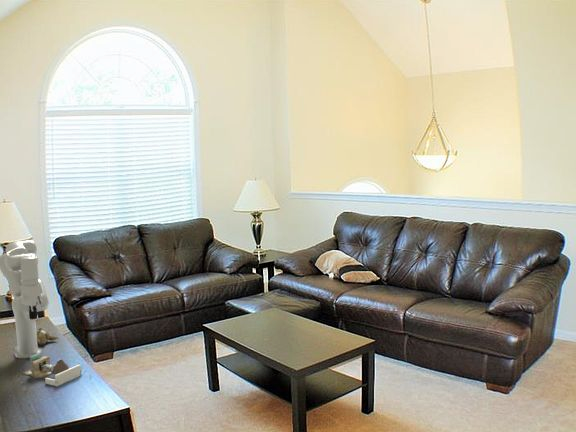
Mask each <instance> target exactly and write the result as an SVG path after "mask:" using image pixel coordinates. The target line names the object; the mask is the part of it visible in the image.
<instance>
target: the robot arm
mask: <svg viewBox="0 0 576 432" xmlns="http://www.w3.org/2000/svg"><path fill="white" fill-rule="evenodd" d="M5 250H6V251H5V252H6V253H3V254H1V255H0V271H1V273H2V275H3V277H4V278H5V279H6V280H7V283H8V287H9V290H10V293H11V295H12V297H13V299H12V301H11V309H12V312H13V315H14V323H15V332H16V342H17V345H16V346H15V347H14V350H16V351H17V352H16V353H14V356H15V358H17V359H30V356H33V355H36V354H38V353H40V354H42V349H40V348H39V346H38V345H39V343H38V342H37V333H36V330H37V324H36V322H37V321H36V319H37V318H38V312H43V311H45V310H47V309H48V308H49V304H50V302H49V298H48V294H47V291H46V289H45V285H44V283H43V282H42V280H41V279H40V278H39V267H38V265H39V258H38V256H37V245H36V243H35V241H34V240H30V239H28V240H27V239H26V240H19V241H12V242H10V243H8V244H7V246H6V248H5Z"/></svg>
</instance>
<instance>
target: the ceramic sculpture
mask: <svg viewBox="0 0 576 432" xmlns="http://www.w3.org/2000/svg"><path fill="white" fill-rule="evenodd" d="M36 333H37V344H38V345H42V346H43V345H45V344H46V343H48V342H49V341H51V342H52V341H56V340H57V339H59V338H58V336H57V337H56V336H55V335H52V334H50V333H49V331H48V330H44V329H43V328H38V329H36Z"/></svg>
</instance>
